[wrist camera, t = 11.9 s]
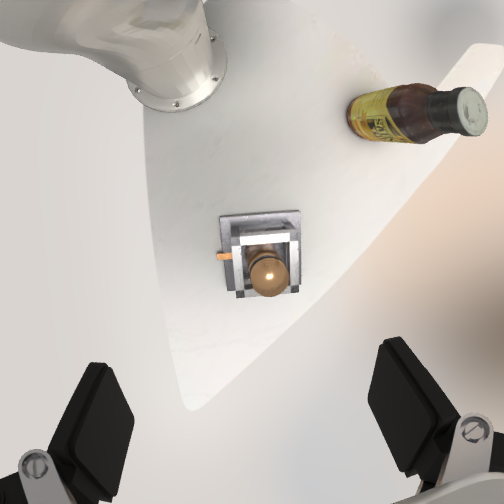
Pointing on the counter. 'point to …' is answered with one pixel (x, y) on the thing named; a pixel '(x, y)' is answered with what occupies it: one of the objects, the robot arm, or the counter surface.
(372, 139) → the sauce bottle
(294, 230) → the collar stand
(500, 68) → the counter surface
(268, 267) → the copper tube
